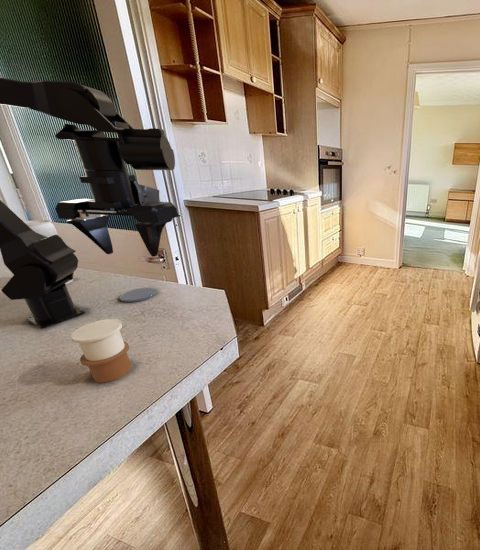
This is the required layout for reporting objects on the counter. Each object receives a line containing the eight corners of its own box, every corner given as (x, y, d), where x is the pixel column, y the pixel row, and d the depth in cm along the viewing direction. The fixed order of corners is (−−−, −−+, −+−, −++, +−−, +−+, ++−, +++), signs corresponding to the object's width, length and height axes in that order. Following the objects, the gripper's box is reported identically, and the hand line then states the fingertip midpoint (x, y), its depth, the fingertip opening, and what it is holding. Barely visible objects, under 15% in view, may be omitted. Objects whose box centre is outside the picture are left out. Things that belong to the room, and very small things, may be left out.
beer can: (82, 279, 73) (59, 220, 67) (52, 289, 68) (24, 226, 62) (64, 276, 74) (41, 218, 69) (34, 285, 69) (5, 224, 63)
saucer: (114, 298, 64) (113, 296, 64) (144, 287, 70) (143, 285, 70) (131, 305, 62) (130, 302, 62) (161, 293, 67) (160, 291, 67)
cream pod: (72, 356, 41) (62, 334, 39) (116, 336, 45) (108, 315, 44) (93, 368, 39) (83, 344, 37) (137, 346, 43) (129, 324, 42)
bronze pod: (81, 378, 42) (71, 357, 41) (123, 356, 47) (115, 337, 45) (102, 390, 40) (92, 368, 39) (143, 366, 45) (136, 346, 43)
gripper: (187, 169, 57) (203, 245, 63) (99, 166, 58) (122, 241, 64) (143, 172, 47) (166, 262, 53) (36, 169, 48) (71, 257, 54)
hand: (132, 254), depth 56 cm, fingers open, 9 cm apart
